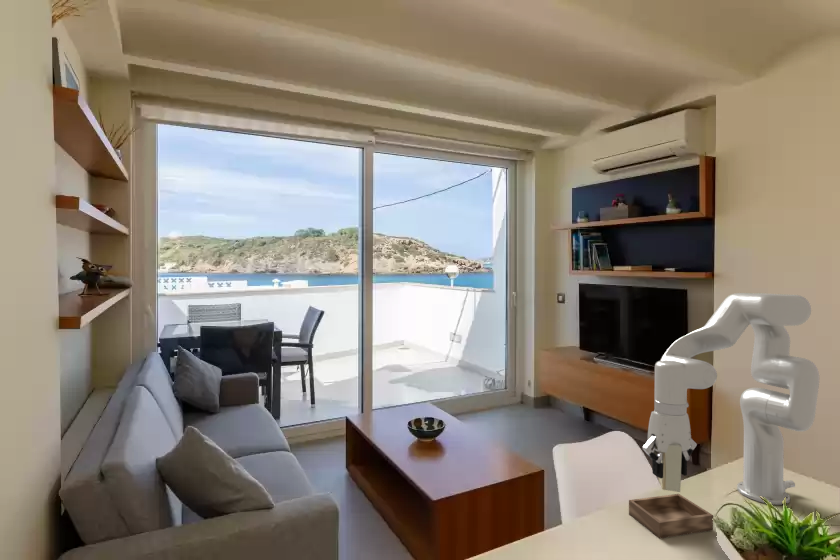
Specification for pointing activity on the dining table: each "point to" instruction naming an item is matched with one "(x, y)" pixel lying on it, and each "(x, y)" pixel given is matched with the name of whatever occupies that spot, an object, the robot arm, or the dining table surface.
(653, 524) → the box
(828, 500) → the dining table surface
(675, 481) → the skincare box
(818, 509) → the dining table surface
